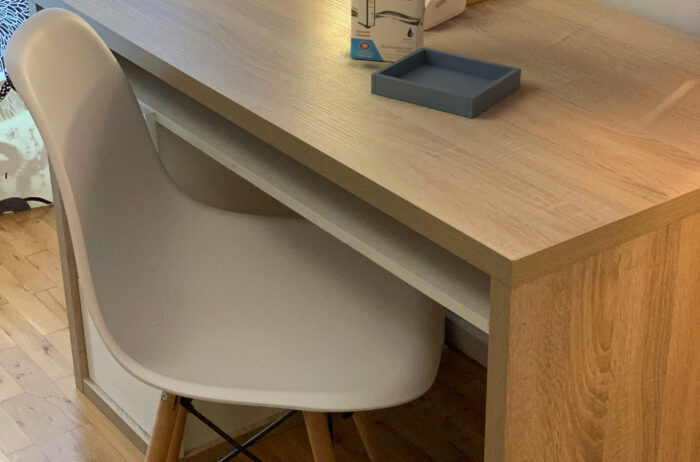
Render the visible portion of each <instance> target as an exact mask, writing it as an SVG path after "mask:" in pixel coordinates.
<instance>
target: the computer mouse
mask: <svg viewBox="0 0 700 462" xmlns="http://www.w3.org/2000/svg"><path fill="white" fill-rule="evenodd" d="M466 7H467V0H425V19H424V31H427V30H429V29H431V28H433V27H436V26H438V25H440V24H442V23H444V22H446V21H448V20H450V19H452V18H454V17H456V16H459V15H460V14H462V13H464V11H465V10H466Z"/></svg>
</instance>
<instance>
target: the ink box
mask: <svg viewBox="0 0 700 462" xmlns="http://www.w3.org/2000/svg"><path fill="white" fill-rule="evenodd" d="M350 8H351V9H350V58H351V59H355V60H366V61H379V62H390V63H393V62H395V61H397V60H399V59H401V58H403V57H405V56H407V55H409V54H410V53H412V52H414V51H416V50H418V49H420V48H422V47H424V39H425V38H424V37H425V30H424V19H425V0H351V1H350Z"/></svg>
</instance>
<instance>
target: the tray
mask: <svg viewBox="0 0 700 462" xmlns="http://www.w3.org/2000/svg"><path fill="white" fill-rule="evenodd" d="M370 75H371V76H370V93H371V94H375V95H379V96H381V97H386V98H391V99H394V100H398V101H402V102H406V103H410V104H414V105H417V106H422V107H425V108H429V109H434V110H437V111H442V112H445V113H449V114H452V115H457V116H461V117H465V118H469V119H473V118H475V117H476V116H478V115H479V114H481V113H482V112H485V110H488V108H490V107H491V106H494V105H495V104H496V103H498V102H500V101H501V100H503V99H504V98H505V97H507V96H509V95H511V93H513V92H515V91H517V90H518V89H519V88H521V80H522V79H521V78H522V68H521V67H516V66H513V65H512V66H511V65H508V64H507V65H506V64H503V63H498V62H494V61H489V60H484V59H479V58H476V57H471V56H467V55H462V54H457V53H453V52H448V51H444V50H440V49H435V48H431V47H426V46H423V47H422V48H420V49H418V50H416V51H414V52H412V53H410V54H409V55H407V56H405V57H403V58H401V59H399V60H397V61H395V62H390V63H389V64H387V65H386V66H384V67H382V68H380V69H378V70H375V71H374V72H372V73H371V74H370Z"/></svg>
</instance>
